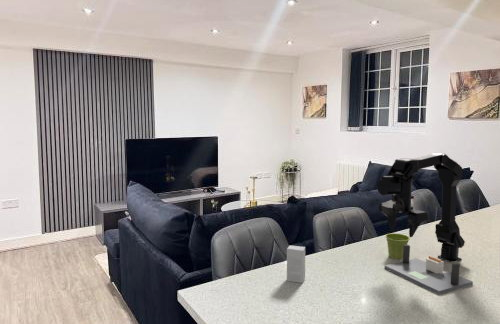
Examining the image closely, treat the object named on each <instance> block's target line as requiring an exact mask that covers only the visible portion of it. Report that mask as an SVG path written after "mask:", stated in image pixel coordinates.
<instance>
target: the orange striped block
mask: <svg viewBox="0 0 500 324" xmlns="http://www.w3.org/2000/svg"><path fill="white" fill-rule="evenodd" d="M425 259H426V260H425V262H426V269H427V270H429V271H432V272H434V273H436V274H439V273H443V269H444V263H445V262H444V261H443V259H440V258H438V257H434V256H432V255H428V257H427V258H425Z"/></svg>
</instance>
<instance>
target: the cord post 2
mask: <svg viewBox="0 0 500 324" xmlns="http://www.w3.org/2000/svg"><path fill="white" fill-rule="evenodd" d="M460 267H461V264H460V263H457V262H451V271H450V272H451V284H452V285H458V284H459V276H460Z"/></svg>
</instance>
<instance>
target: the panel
mask: <svg viewBox="0 0 500 324" xmlns="http://www.w3.org/2000/svg"><path fill="white" fill-rule="evenodd" d="M384 269H385V270H387V271H389V272H391V273H393V274H395V275H397V276H399V277H402V278H404V279H405V280H408V281H410V282H412V283H414V284H416V285H418V286H420V287H422V288H423V289H424V288H425V289H426V290H428V291H431V292H433V293H435V294H437V295H442V294H445V293H449V292H453V291H455V290H461V289H463V288H466V287H470V286H473V285H474V281H472V280H471V279H468V278H466V277H462V276H461V275H459V284H458V285H452V284H451V271H448V270H445V269H444V268H443V273H439V274H436V273H434V272H432V271H429V270H427V269H426V261H424V260H421V259H419V258H412V259H409V264H404V263H403V260H402V261H399V262H394V263H391V264H390V263H389V264H386V265H384Z"/></svg>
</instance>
